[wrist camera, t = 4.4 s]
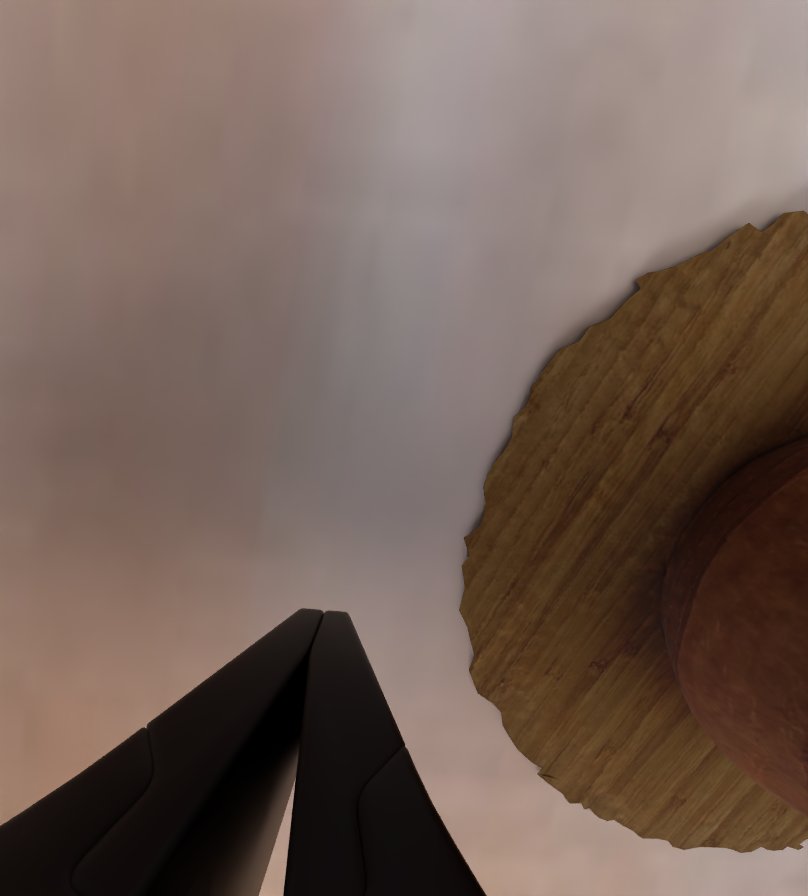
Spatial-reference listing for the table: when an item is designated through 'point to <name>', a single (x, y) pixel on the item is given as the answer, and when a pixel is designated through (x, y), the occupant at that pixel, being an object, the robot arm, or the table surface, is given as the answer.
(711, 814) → the ceramic pot
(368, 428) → the table surface
